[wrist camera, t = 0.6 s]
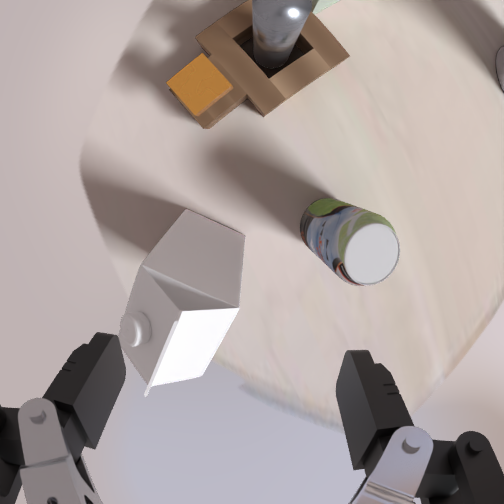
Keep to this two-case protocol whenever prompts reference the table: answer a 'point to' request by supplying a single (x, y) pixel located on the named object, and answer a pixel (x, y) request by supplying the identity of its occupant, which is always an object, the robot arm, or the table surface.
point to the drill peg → (277, 29)
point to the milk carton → (183, 300)
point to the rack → (321, 5)
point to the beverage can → (351, 241)
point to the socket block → (250, 75)
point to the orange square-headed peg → (199, 85)
